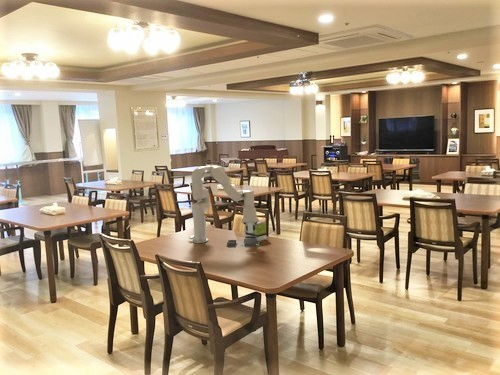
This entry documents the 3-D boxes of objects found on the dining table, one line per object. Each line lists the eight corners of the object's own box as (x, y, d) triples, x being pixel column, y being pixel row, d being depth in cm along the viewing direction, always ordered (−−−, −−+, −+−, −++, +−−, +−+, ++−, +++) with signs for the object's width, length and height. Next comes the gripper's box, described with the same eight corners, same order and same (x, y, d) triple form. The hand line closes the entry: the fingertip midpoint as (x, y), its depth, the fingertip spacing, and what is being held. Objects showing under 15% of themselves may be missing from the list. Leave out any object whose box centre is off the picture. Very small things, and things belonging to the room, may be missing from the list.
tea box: (244, 238, 356) (244, 220, 355) (254, 236, 363) (253, 218, 361) (257, 241, 345) (257, 223, 343) (266, 239, 352) (266, 221, 350)
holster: (225, 247, 331) (225, 242, 330) (227, 244, 340) (227, 239, 339) (236, 247, 330) (236, 242, 330) (237, 244, 339) (237, 239, 338)
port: (240, 246, 331) (240, 239, 331) (242, 242, 343) (241, 235, 342) (259, 246, 330) (258, 239, 329) (260, 242, 342) (259, 235, 341)
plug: (247, 232, 333) (247, 221, 332) (248, 231, 337) (247, 220, 336) (253, 232, 333) (252, 221, 332) (253, 231, 337) (252, 220, 336)
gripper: (237, 208, 330) (239, 232, 332) (260, 207, 329) (261, 231, 331) (239, 206, 337) (240, 229, 339) (260, 205, 336) (261, 229, 338)
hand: (250, 230), depth 335 cm, fingers closed on plug, 4 cm apart
